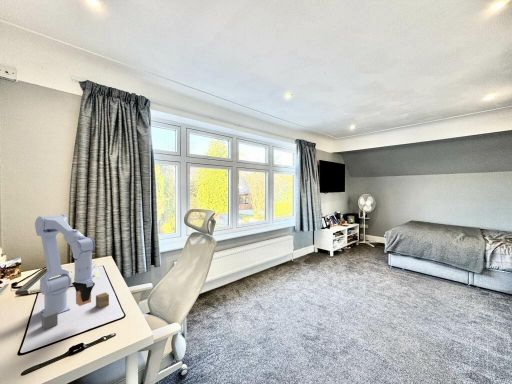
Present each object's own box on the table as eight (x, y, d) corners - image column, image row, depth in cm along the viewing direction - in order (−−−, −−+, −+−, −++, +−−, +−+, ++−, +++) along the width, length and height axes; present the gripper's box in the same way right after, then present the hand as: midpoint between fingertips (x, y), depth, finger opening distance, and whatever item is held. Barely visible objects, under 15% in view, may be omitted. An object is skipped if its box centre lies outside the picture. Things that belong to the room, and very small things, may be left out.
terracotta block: (75, 303, 92) (75, 291, 92) (87, 299, 96) (87, 287, 96) (79, 306, 90) (79, 294, 90) (91, 302, 93) (91, 290, 93)
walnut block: (95, 305, 105) (95, 295, 105) (105, 302, 109) (105, 292, 108) (99, 308, 103) (99, 297, 103) (108, 304, 106) (108, 294, 106)
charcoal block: (41, 326, 90) (41, 314, 89) (54, 321, 93) (54, 309, 93) (44, 329, 87) (44, 317, 87) (57, 324, 91) (57, 312, 91)
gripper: (101, 268, 92) (101, 300, 92) (87, 261, 100) (88, 291, 100) (81, 273, 86) (81, 307, 86) (68, 265, 94) (68, 297, 94)
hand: (83, 299), depth 93 cm, fingers closed on terracotta block, 4 cm apart
